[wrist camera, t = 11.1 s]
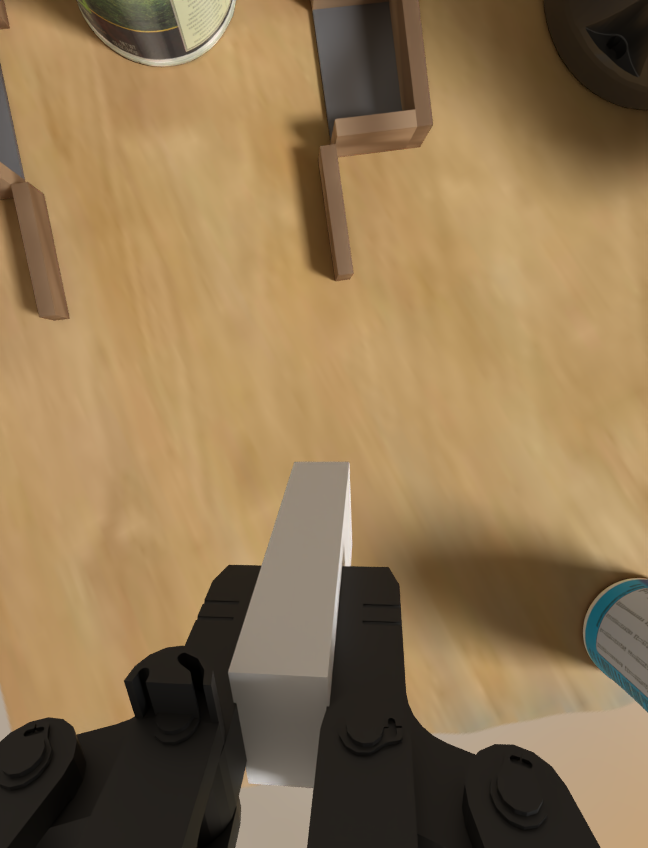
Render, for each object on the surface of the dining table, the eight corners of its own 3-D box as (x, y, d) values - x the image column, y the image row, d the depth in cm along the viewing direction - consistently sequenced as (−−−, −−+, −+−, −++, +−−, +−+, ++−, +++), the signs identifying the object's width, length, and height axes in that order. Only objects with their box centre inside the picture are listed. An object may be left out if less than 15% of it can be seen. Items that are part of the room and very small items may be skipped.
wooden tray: (383, -159, 31) (401, -261, 26) (434, 267, 34) (459, 249, 29) (-143, -113, 29) (-232, -214, 24) (-39, 333, 32) (-99, 326, 27)
